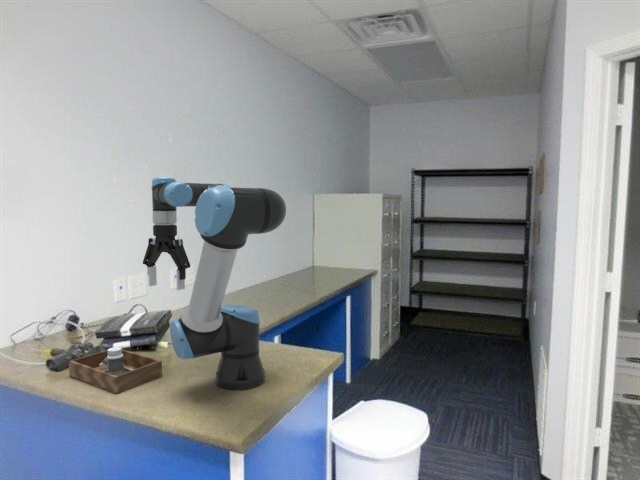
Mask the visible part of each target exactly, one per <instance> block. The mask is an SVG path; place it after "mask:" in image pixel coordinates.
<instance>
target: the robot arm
mask: <svg viewBox="0 0 640 480" xmlns="http://www.w3.org/2000/svg"><path fill="white" fill-rule="evenodd" d="M151 182H152V183H151V192H152V193H151V195H152V196H151V200H152V202H151V203H152V204H151V205H152V224H154V225H152V232H153V233H152V234H153V237H150V238H148V243H147V244H148V245H147V247H146V251H145V254H144V257H143V260H142V264H143V265H144V266H146V267H147V276H148V277H147V278H148V286H149V287H153V286H157V284H158V283H157V266H156V263H157V261H158V260H159V258H160V256H161V254H162V253H166V254H168V255H170V258H171V259H172V261H173V262H174V264H175V266H176V268H177V269H176V290H177V291H180V290H185V289H186V285H185V283H186V281H185V280H186V271H187V269H190V268H191V264H190V260H189V258H188V254H187V253H186V250H185V247H184V241H183V238H180V239H179V238H178V239H176V237H177V236H178V226H177V221H178V219H177V218H178V217H177V208H178V207H179V208H180V207H181V208H182V207H195V208H194V209H195V210H194V216H195V217H194V224H195V225H194V226H195V228H196V230H197V232H198V233H199V235H200V238H201V239H202V241H203V246H202V249H201V254H200V258H199V262H198V266H197V271H196V275H195V280H194V282H193V287H192V291H191V294H190V295H191V296H190V300H189V304H188V305H187V306H185V307H184V308H183V309H182V311H181V313H180V316H179V318H175V319H172V320H171V321H170V324H169V334H170V341H171V345H172V348H173V350H174V352H175V354H176V356H177V358H179V359H181V360H190V359H191V360H193V359H196V358H201V357H206V356H210V355H214V354H219V353H220V360H219V361H218V362H219V363H218V366H217V370H216V372H215V384H216V385H217V386H218V387H220V388H222V389H227V390H234V389H239V390H245V389H244V388H248V389H250V388H249V387H252V388H254V387H253V386H256V385H258V386H260V385H261V384H260V383H262V382H263V381H264V382H265V380H266V371H265V369H264V367H263V363H262V360H261V356H260V324H261V322H260V315H259V311H258V310H257V309H256V308H254V307H252V306H247V305H242V304H241V305H240V304H226V305H223V302H224V299H225V295H226V292H227V287H228V284H229V280H230V278H231V274H232V270H233V267H234V263H235V261H236V256H237V252H238V250H241V249H242V248H243V247H244V246H245V245H246V243H247V240H248V237H249V235H258V234H260V235H261V234H267V233H271V232H272V231H275V230H276V229H278V228H279V227H280V226H281V225H282V223H284V220H285V218H286V215H287V205H286V202H285V200H284V198H283V197H282V196H281V195H280V194H279V192H276V191H274V190H273V189H268V188H264V187H261V188H260V187H232V186H230V185H228V184H226V183H225V184H224V183H198V182H183V181H176V178H174V177H168V176H167V177H166V176H165V177H164V176H163V177H162V176H159V177H158V176H157V177H153V178H152V179H151ZM264 379H265V380H264ZM264 382H263V383H264ZM263 383H262V384H263ZM259 384H260V385H259ZM256 387H257V386H256Z"/></svg>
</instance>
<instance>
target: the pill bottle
mask: <svg viewBox="0 0 640 480" xmlns="http://www.w3.org/2000/svg"><path fill="white" fill-rule="evenodd" d="M107 350H108V356H107V373H110V374H113V375H116V376H117V375H120V374H123V373H124V362H123V354H122V347H121V346H114V347H110V348H108V349H107Z"/></svg>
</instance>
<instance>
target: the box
mask: <svg viewBox="0 0 640 480" xmlns="http://www.w3.org/2000/svg"><path fill="white" fill-rule="evenodd" d="M122 354H123V362H124V373H123V374H120V375H117V376H116V375H113V374H110V373H107V366H99V364H100V363H101V362H102V361H103V360H104V359H105V357H107V356H108V349H105V350H102V351H99V352H95V353H91V354H89V355H84V356H82V357H78V358H75V359H71V360H69V361H68V369H69V370H68V373H69V374H68V375H69V377H70V378H72V379H74V380H78V381H79V382H82V383H85V384H88V385H90V386H94V387H96V388H99V389H102V390H105V391H106V392H109V393H112V394H114V395H118V394H120V393H123V392H125V391H128V390H131V389H134V388H135V387H138V386H141V385H143V384H146V383H148V382H150V381H153V380H156V379H158V378H161V377H163V360H161V359H158V358H154V357H150V356H147V355H144V354H140V353H136V352H133V351H130V350H127V349H122Z"/></svg>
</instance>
